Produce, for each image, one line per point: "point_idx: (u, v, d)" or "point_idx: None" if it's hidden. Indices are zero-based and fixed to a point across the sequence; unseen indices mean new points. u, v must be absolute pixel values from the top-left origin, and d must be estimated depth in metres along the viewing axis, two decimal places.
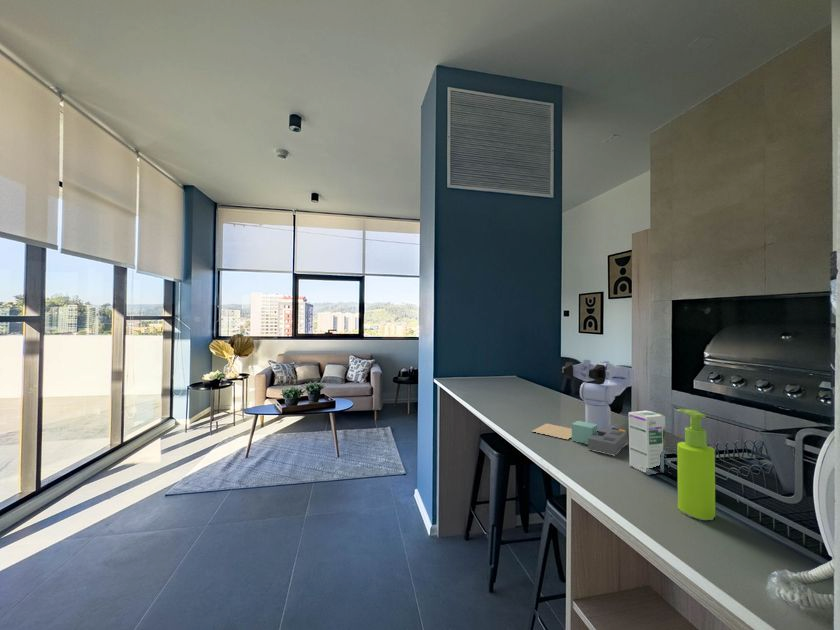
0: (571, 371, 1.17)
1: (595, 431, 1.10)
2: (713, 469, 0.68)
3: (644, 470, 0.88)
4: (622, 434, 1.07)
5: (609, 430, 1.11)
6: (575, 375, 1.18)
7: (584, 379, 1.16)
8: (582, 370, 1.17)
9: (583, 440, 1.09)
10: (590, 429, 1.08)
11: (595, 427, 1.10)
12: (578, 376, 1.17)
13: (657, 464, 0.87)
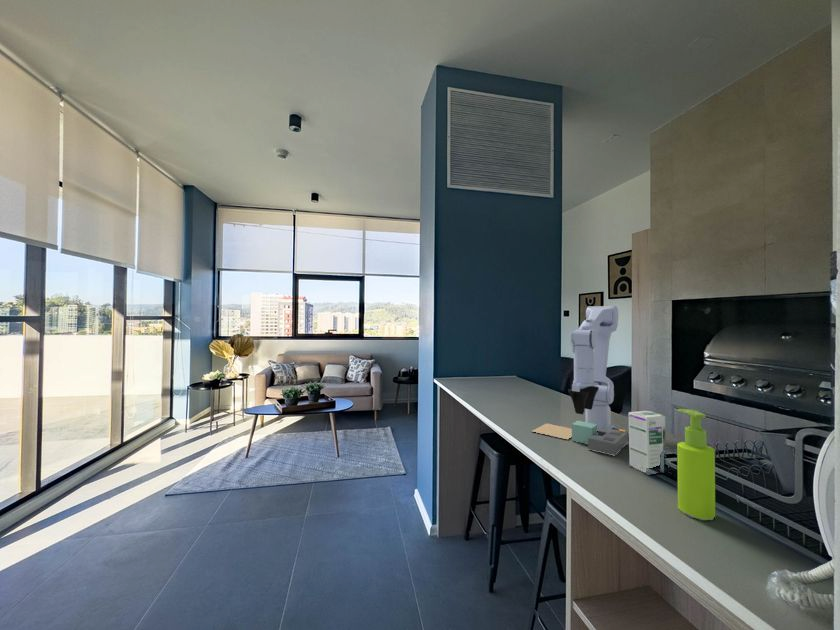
0: None
1: (595, 431, 1.10)
2: (713, 469, 0.68)
3: (644, 470, 0.88)
4: (622, 434, 1.07)
5: (609, 430, 1.11)
6: None
7: None
8: None
9: (583, 440, 1.09)
10: (590, 429, 1.08)
11: (595, 427, 1.10)
12: (575, 384, 1.11)
13: (657, 464, 0.87)
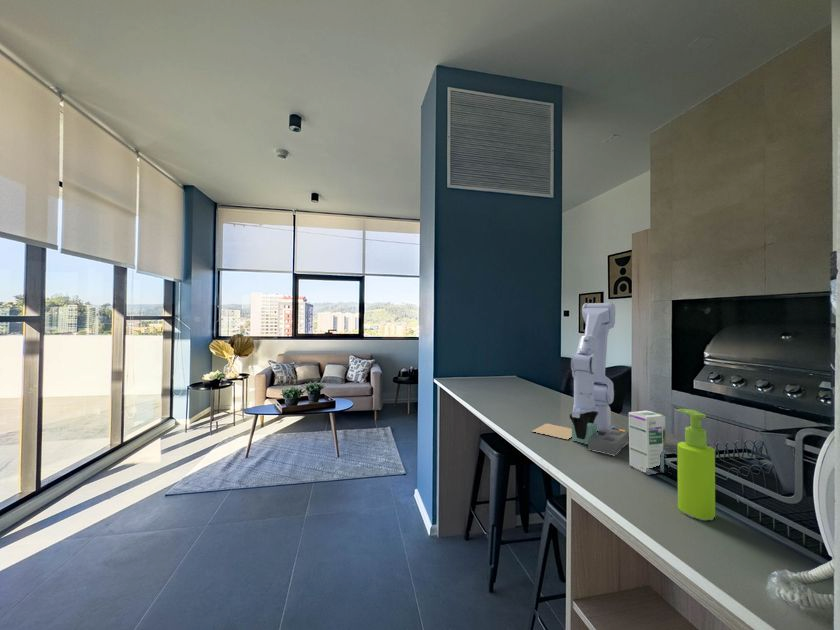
0: None
1: (595, 431, 1.10)
2: (713, 469, 0.68)
3: (644, 470, 0.88)
4: (622, 434, 1.07)
5: (609, 430, 1.11)
6: None
7: None
8: None
9: (583, 439, 1.09)
10: (590, 429, 1.08)
11: (595, 427, 1.10)
12: None
13: (657, 464, 0.87)
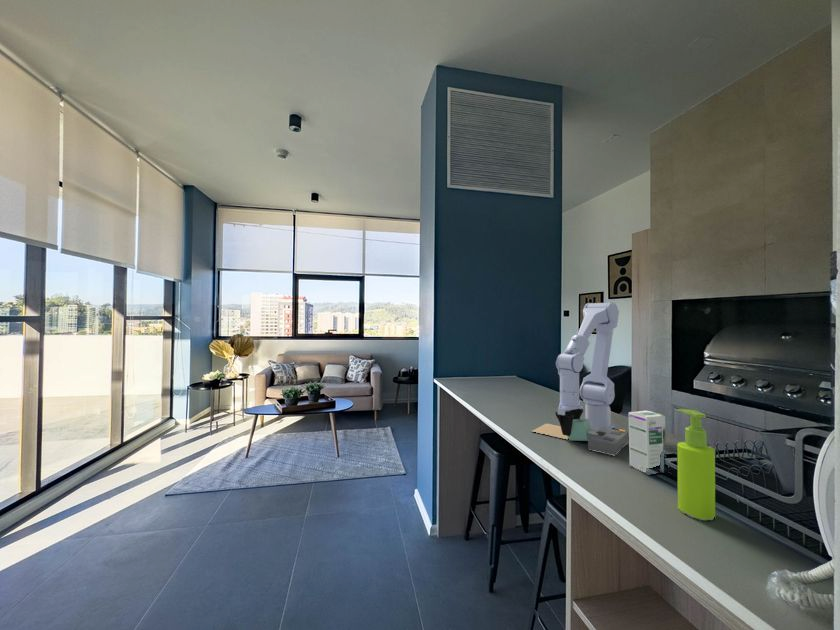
0: None
1: (588, 425, 1.11)
2: (713, 469, 0.68)
3: (644, 470, 0.88)
4: (622, 434, 1.07)
5: (609, 430, 1.11)
6: None
7: None
8: None
9: (578, 436, 1.10)
10: (582, 424, 1.09)
11: (587, 421, 1.11)
12: None
13: (657, 464, 0.87)
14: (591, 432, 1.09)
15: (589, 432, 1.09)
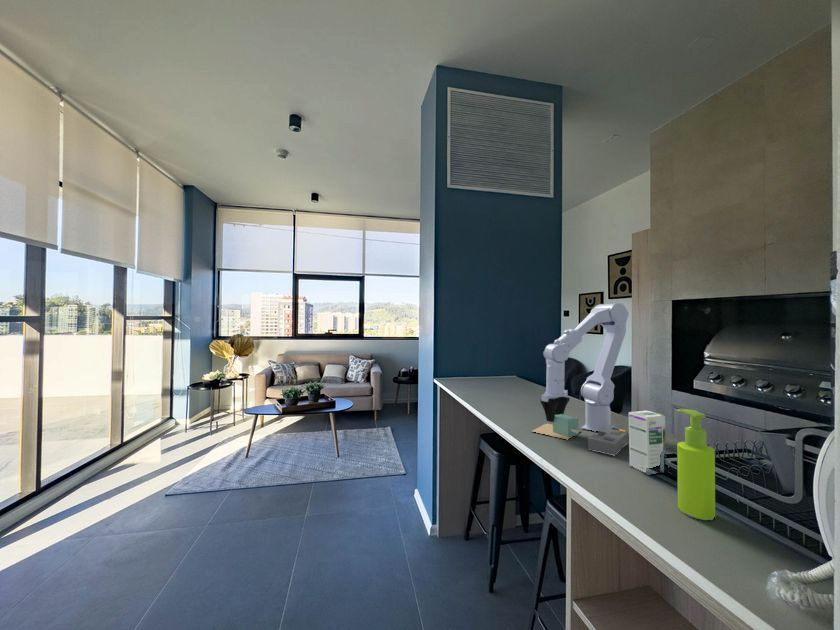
0: None
1: (574, 424, 1.15)
2: (713, 469, 0.68)
3: (644, 470, 0.88)
4: (622, 434, 1.07)
5: (609, 430, 1.11)
6: None
7: None
8: None
9: (561, 430, 1.16)
10: (566, 421, 1.14)
11: (574, 420, 1.15)
12: None
13: (657, 464, 0.87)
14: (573, 430, 1.14)
15: (572, 430, 1.14)
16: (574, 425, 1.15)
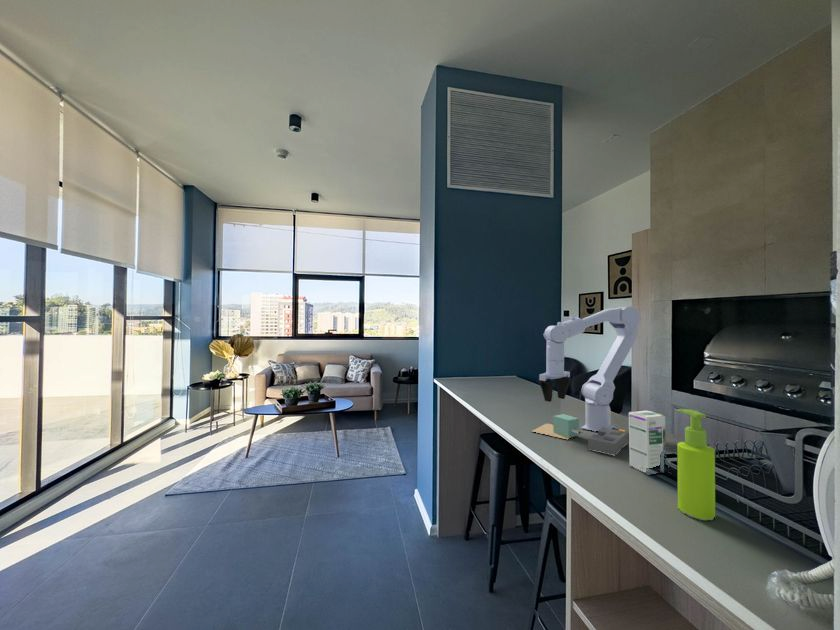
0: None
1: (575, 424, 1.15)
2: (713, 469, 0.68)
3: (644, 470, 0.88)
4: (622, 434, 1.07)
5: (609, 430, 1.11)
6: None
7: None
8: None
9: (562, 431, 1.15)
10: (567, 421, 1.14)
11: (575, 420, 1.15)
12: None
13: (657, 464, 0.87)
14: (574, 431, 1.13)
15: (572, 430, 1.14)
16: (575, 425, 1.15)
